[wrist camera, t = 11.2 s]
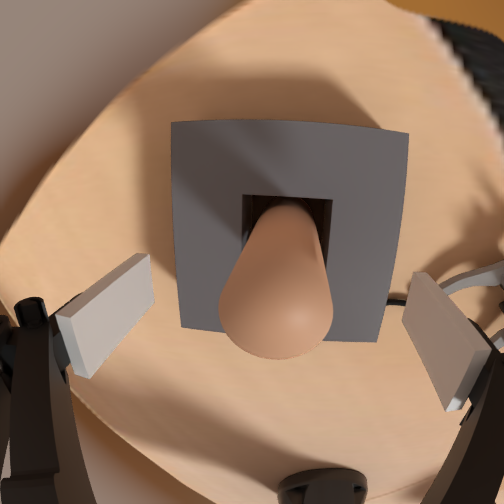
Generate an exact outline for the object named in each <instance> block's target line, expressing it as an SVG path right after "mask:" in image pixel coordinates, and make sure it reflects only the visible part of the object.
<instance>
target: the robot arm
mask: <svg viewBox="0 0 504 504" xmlns="http://www.w3.org/2000/svg"><path fill="white" fill-rule="evenodd" d="M154 303H155V301H154V293H153V284H152V275H151V265H150V254H143V253H136V254H135V255H133V256H132V257H130V258H129V259H127V260H126V261H125V262H123V263H122V264H121V265H119V266H118V267H116V268H115V269H114V270H112V271H111V272H110V273H108V274H107V275H106V276H104V277H103V278H101V279H100V280H99V281H97V282H96V283H95V284H93V285H92V286H91V287H89V288H88V289H87V290H85V291H84V292H82V293H80V294H78V295H76V296H75V297H73V298H72V299H71V300H70V302H69V301H68V302H67V303H66V304H64V306H62V307H61V308H59V309H58V310H57V311H55V312H54V313H53V314H52V315H50V316H49V317H48V315H47V311H46V308H45V304H44V300H43V299H42V298H40V297H29V298H26V299H23V300H21V301H19V302H18V303H17V304H16V305H15V306H14V310H15V313H16V317H17V320H18V323H19V326H20V327H11V324H10V321H9V318H8V317H7V316H5V315H0V480H1V474H2V468H3V464H4V458H5V454H6V449H7V445H8V441H9V437H10V466H11V476H10V478H3V479H2V480H1V485H0V491H1V501H2V504H97V503H96V500H95V497H94V494H93V491H92V488H91V484H90V481H89V478H88V474H87V470H86V467H85V463H84V459H83V455H82V451H81V447H80V442H79V438H78V433H77V428H76V423H75V418H74V412H73V406H72V400H71V393H70V386H69V378H68V374H67V371H66V367H67V366H68V365H69V364H70V363H71V365H72V368H73V371H74V373H75V375H78V376H81V377H84V378H87V379H90V378H91V377H92V376H93V375H94V373H95V372H96V371H97V370H98V369H99V367H100V366H101V365H102V364H103V362H104V361H105V360H106V359H107V358H108V356H109V355H110V354H111V353H112V352H113V350H114V349H115V348H116V347H117V346H118V344H119V343H120V342H121V341H122V340H123V339H124V337H125V336H126V335H127V334H128V333H129V331H130V330H131V329H132V328H133V327H134V326H135V324H136V323H137V322H138V321H139V320H140V319H141V317H142V316H143V315H144V314H145V313H146V312H147V311H148V309H149V308H150V307H151V306H152V305H153V304H154ZM402 322H403V324H404V326H405V328H406V330H407V332H408V334H409V336H410V338H411V340H412V342H413V344H414V346H415V348H416V350H417V352H418V354H419V356H420V358H421V360H422V362H423V364H424V366H425V368H426V370H427V372H428V374H429V377H430V379H431V381H432V383H433V385H434V387H435V390H436V392H437V394H438V396H439V399H440V401H441V403H442V405H443V408H444V410H445V412H447V411H454V410H460V409H462V407H463V406H464V404H465V402H466V400H467V399H468V397H469V399H470V401H471V403H472V405H471V406H470V408H469V410H468V411H467V413H466V415H465V416H464V418H463V420H462V421H461V423H460V424H459V425H461V428H460V431H459V433H458V435H457V437H456V440H455V442H454V444H453V446H452V448H451V450H450V452H449V454H448V456H447V458H446V460H445V462H444V464H443V466H442V468H441V470H440V471H439V473H438V475H437V477H436V479H435V480H434V482H433V484H432V485H431V487H430V489H429V490H428V492H427V494H426V495H425V497H424V499H423V500H422V502H421V503H420V504H494V502H495V499H496V496H497V494H498V491H499V488H500V485H501V482H502V479H503V476H504V353H500V351H499V350H498V349H497V348H496V346H495V345H494V344H493V343H492V341H491V340H490V339H489V338H487V337H488V336H487V335H486V334H485V333H484V332H483V330H482V329H481V328H480V327H479V325H478V324H476V323H475V322H474V321H472V320H471V319H469V318H466V316H465V315H464V314H463V313H462V312H461V310H460V309H459V308H458V307H457V306H456V305H455V303H454V302H453V301H452V300H451V299H450V298H449V297H448V295H447V294H446V293H445V292H444V291H443V290H442V289H441V288H440V287H439V285H438V284H437V283H436V282H435V281H434V280H433V279H432V278H431V277H430V276H429V275H428V273H427V272H413V275H412V280H411V285H410V289H409V293H408V298H407V302H406V306H405V310H404V314H403V317H402ZM367 492H368V487H367V479H366V477H365V476H364V475H363V474H361V473H359V472H356V471H353V470H347V469H318V470H311V471H306V472H301V473H298V474H295V475H292V476H290V477H288V478H286V479H284V480H283V481H282V482H281V483H280V484H279V487H278V496H277V497H278V502H279V504H364V502H365V499H366V496H367Z"/></svg>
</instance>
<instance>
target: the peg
mask: <svg viewBox="0 0 504 504" xmlns="http://www.w3.org/2000/svg"><path fill="white" fill-rule="evenodd" d="M218 311H219V318H220V322H221V324H222V327H223V329H224V331H225V332H226V334H227V335H228V337H229V338H230V339H231V340H232V341H233V342H234V343H235V344H236V345H237V346H238V347H240V348H241V349H243V350H244V351H246V352H248V353H250V354H252V355H255V356H258V357H261V358H266V359H277V360H280V359H289V358H294V357H297V356H300V355H302V354H305V353H307V352H308V351H310V350H312V349H313V348H315V347H316V346H317V345H318V344H319V343H320V342H321V341H322V340H323V339H324V337H325V336H326V334H327V333H328V331H329V329H330V326H331V323H332V319H333V304H332V299H331V294H330V289H329V284H328V279H327V274H326V270H325V265H324V260H323V256H322V251H321V247H320V242H319V238H318V234H317V229H316V225H315V221H314V217H313V213H312V211H311V209H310V207H309V206H308V204H307V203H306V202H305V201H303V200H302V199H300V198H299V197H287V196H278V197H276V198H274V199H272V200H271V201H270V202H269V203H268V204H267V205H266V206H265V208H264V210H263V212H262V213H261V215H260V217H259V219H258V221H257V223H256V225H255V227H254V229H253V231H252V233H251V235H250V237H249V239H248V241H247V243H246V245H245V247H244V249H243V251H242V253H241V255H240V257H239V259H238V261H237V262H236V264H235V266H234V268H233V270H232V272H231V274H230V276H229V278H228V280H227V282H226V284H225V286H224V288H223V290H222V292H221V295H220V299H219V306H218Z"/></svg>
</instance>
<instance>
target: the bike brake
mask: <svg viewBox="0 0 504 504" xmlns="http://www.w3.org/2000/svg"><path fill="white" fill-rule="evenodd" d="M497 285H500V286H501V288H502V289H503V290H504V260H502V261H499V262H497V263H495V264H492V265H489V266H486V267H482V268H478V269H475V270H472V271H468V272H464V273H461V274H458V275H456V276H454V277H452V278H450V279H448V280H446V281H444V282H443V283H441V284H439V287H440V288H441V289H442V290H443V291H444V292H445V293H446V294H447V295H450V294H452V293H454V292H456V291H458V290H461V289H464V288H468V287H472V286H497ZM406 302H407V301H405V300H398V299H388V300H387V302H386V306H387V305H400V306H406ZM499 307H500V309H501V310H502V312H503V313H504V302H502V303H500V304H499ZM490 340H491V341H492V343H493V344H494V345H495V346H496V348H497V349H500V348H502V347H503V346H504V328H503V329H501V330H499V331H498V332H497V333H496V334H495V335H494V336H492V337H491V338H490Z"/></svg>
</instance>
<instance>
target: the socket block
mask: <svg viewBox="0 0 504 504" xmlns="http://www.w3.org/2000/svg"><path fill="white" fill-rule="evenodd" d="M408 143H409V133H403V132H397V131H390V130H384V129H376V128H369V127H361V126H352V125H343V124H332V123H320V122H306V121H287V120H201V121H182V122H171V180H172V211H173V232H174V249H175V264H176V277H177V288H178V299H179V310H180V319H181V327H183V328H190V329H197V330H205V331H213V332H222V333H226V332H225V331H224V329H223V327H222V324H221V322H220V318H219V311H218V306H219V299H220V295H221V292H222V290H223V288H224V286H225V284H226V282H227V280H228V278H229V276H230V274H231V272H232V270H233V268H234V266H235V264H236V262H237V261H238V259H239V257H240V255H241V253H242V251H243V249H244V247H245V245H246V243H247V241H248V239H249V237H250V235H251V225H252V195H269V196H287V197H304V198H319V199H325V207H324V220H323V232H322V243H321V251H322V256H323V260H324V265H325V270H326V274H327V279H328V284H329V289H330V294H331V299H332V304H333V319H332V323H331V326H330V329H329V331H328V333H327V334H326V336H325V337H324V339H323V340H322V341H342V342H377V339H378V335H379V331H380V327H381V323H382V319H383V315H384V311H385V307H386V302H387V298H388V293H389V289H390V284H391V279H392V274H393V269H394V264H395V258H396V252H397V246H398V240H399V234H400V227H401V220H402V212H403V204H404V195H405V185H406V174H407V161H408Z"/></svg>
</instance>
